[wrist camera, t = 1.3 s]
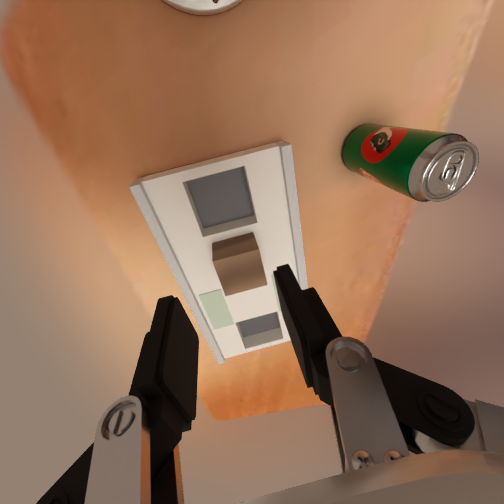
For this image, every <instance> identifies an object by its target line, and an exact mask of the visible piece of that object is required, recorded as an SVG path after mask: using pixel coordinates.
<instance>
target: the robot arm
mask: <svg viewBox="0 0 504 504" xmlns="http://www.w3.org/2000/svg"><path fill="white" fill-rule="evenodd" d="M162 1H164V2H166V3H167V4H169V5H171V6H172V7H174V8H176V9H178V10H181V11H184V12H187V13H190V14H195V15H212V14H218V13H222V12H224V11H227V10H229V9H231V8H233V7H235V6H236V5H237V4H239V3H240V2H241V1H242V0H218V3H214V2H213V1H212V0H162ZM273 275H274V279H275V284H276V289H277V293H278V298H279V303H280V308H281V312H282V316H283V319H284V322H285V325H286V328H287V330H288V333H289V336H290V339H291V342H292V345H293V348H294V350H295V353H296V356H297V359H298V362H299V365H300V368H301V370H302V373H303V376H304V379H305V382H306V385H307V387H308V388H310V387H313V389H314V392H315V395H317V394H318V395H319V398H320V400H321V401H323V402H325V403H326V404H328V405H330V409H331V414H332V420H333V425H334V430H335V435H336V441H337V446H338V452H339V458H340V463H341V468H342V474H340V475H336V476H332V477H328V478H325V479H321V480H318V481H315V482H311V483H307V484H303V485H300V486H296V487H293V488H289V489H286V490H282V491H279V492H275V493H272V494H268V495H265V496H261V497H258V498H254V499H251V500H247V501H244V502H240V503H237V504H504V407H501V406H497V405H493V404H490V403H486V402H483V401H480V400H476V399H475V400H474V402H472V401H468V400H465V399H462V397H460V396H459V395H458V394H457V393H455V392H454V391H453V390H451V389H449V388H447V387H445V386H443V385H440V384H438V383H436V382H433V381H430V380H428V379H426V378H423V377H421V376H418V375H416V374H413V373H411V372H408V371H406V370H403V369H401V368H399V367H396V366H394V365H391V364H389V363H386V362H384V361H381V360H379V359H376V358H374V357H373V356H372V354H371V352H370V350H369V349H368V347H367V346H366V345H365V344H364V343H362V342H361V341H359V340H357V339H355V338H351V337H342V335H341V333H340V331H339V330H338V328H337V326H336V324H335V323H334V321H333V319H332V318H331V316H330V314H329V312H328V311H327V309H326V307H325V305H324V304H323V302H322V300H321V299H320V297H319V295H318V293H317V292H316V290H315V289H314V288H313V287H312V288H308V289H304V290H302V289H301V287H300V285H299V283H298V281H297V279H296V277H295V275H294V274H293V272H292V270H291V268H290V266H289V264H285V265H281V266H278V267H277V270H275V271H273ZM198 351H199V339H198V335H197V333H196V331H195V329H194V327H193V325H192V323H191V321H190V319H189V318H188V316H187V314H186V312H185V310H184V308H183V306H182V304H181V302H180V301H179V299H178V298H177V297H175V298H174V297H173V296H172V295H170V296H167V297H163V298H159V299H158V302H157V306H156V310H155V314H154V317H153V321H152V325H151V329H150V332H148V333H147V334H146V335H145V338H144V341H143V345H142V348H141V352H140V356H139V360H138V363H137V367H136V370H135V374H134V378H133V381H132V385H131V389H130V392H129V396H125V397H122V398H120V399H119V400H117V401H116V402H114V403H113V404H112V405H111V406H110V407H109V408H108V409H107V410H106V411H105V413H104V414H103V415H102V417H101V419H100V421H99V423H98V426H97V430H96V436H95V441H94V443H93V444H92V445H91V446H90V447H89V448H88V449H87V450H86V451H85V452H84V453H83V454H82V455H81V456H80V457H79V459H77V461H76V462H75V463H74V464H73V465H72V466H71V467H70V468H69V469H68V470H67V471H66V472H65V473H64V474H63V475H62V476H61V477H60V478H59V480H58V481H57V482H56V483H55V484H54V485H53V486H52V487H51V488H50V489H49V490H48V491H47V492H46V493H45V495H43V496H42V498H41V499H40V500H39V501H38V502H37V503H36V504H184V494H183V485H182V474H181V464H180V456H179V445H178V443H179V441H180V440H181V438H182V432H185V431H188V430H191V422H192V420H195V417H196V400H197V375H198ZM408 450H409V451H411V452H413V453H415V454H416V455H412V456H410V453H409V451H408Z"/></svg>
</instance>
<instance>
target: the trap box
mask: <svg viewBox="0 0 504 504" xmlns="http://www.w3.org/2000/svg"><path fill="white" fill-rule="evenodd" d="M129 188H130V190H131V192H132V194H133V196H134V198H135V200H136V202H137V204H138V206H139V208H140V210H141V212H142V214H143V216H144V218H145V220H146V222H147V224H148V225H149V227H150V229H151V231H152V233H153V235H154V237H155V239H156V241H157V243H158V245H159V247H160V249H161V251H162V253H163V255H164V257H165V259H166V261H167V263H168V265H169V267H170V269H171V271H172V273H173V275H174V277H175V279H176V281H177V283H178V285H179V287H180V289H181V291H182V293H183V295H184V297H185V299H186V300H187V302H188V304H189V306H190V308H191V310H192V312H193V314H194V316H195V318H196V320H197V322H198V324H199V326H200V328H201V330H202V332H203V334H204V336H205V338H206V340H207V342H208V344H209V346H210V348H211V350H212V352H213V354H214V356H215V358H216V360H217V362H218V364H219V365H220V364H223V363H225V358H229V357H232V356H236V355H240V354H243V353H247V352H251V351H254V350H258V349H261V348H265V347H269V346H272V345H276V344H280V343H283V342H287V341H290V340H291V339H290V336H289V333H288V330H287V328H286V325H285V322H284V319H283V316H282V312H281V308H280V303H279V298H278V293H277V289H276V284H275V279H274V275H273V271H275V270H277V267H278V266H281V265H285V264H289V266H290V268H291V270H292V272H293V274H294V275H295V277H296V279H297V281H298V283H299V285H300V287H301V289H302V290H304V289H308V285H307V276H306V267H305V259H304V250H303V241H302V232H301V224H300V215H299V206H298V197H297V189H296V180H295V171H294V163H293V154H292V145H291V144H289V143H287V142H285V141H283V140H281V141H278V142H274V143H270V144H266V145H262V146H259V147H255V148H251V149H247V150H243V151H239V152H236V153H232V154H228V155H224V156H220V157H216V158H213V159H209V160H205V161H201V162H197V163H194V164H190V165H186V166H182V167H178V168H174V169H171V170H167V171H163V172H159V173H155V174H151V175H148V176H144V177H140V178H137V179H136V180H135V181H134V182H133V183H132V184H131V186H130V187H129ZM251 232H253V233H254V236H255V239H256V241H257V244H258V247H259V250H260V254H261V259H262V263H263V267H264V271H265V276H266V280H267V284H268V285H266V286H262V287H258V288H255V289H251V290H247V291H243V292H240V293H236V294H232V295H229V296H225V294H224V291H223V288H222V286H221V283H220V280H219V278H218V275H217V272H216V270H215V267H214V264H213V262H212V243H213V242H217V241H221V240H225V239H228V238H232V237H236V236H240V235H243V234H247V233H251Z"/></svg>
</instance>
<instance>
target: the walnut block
mask: <svg viewBox="0 0 504 504" xmlns="http://www.w3.org/2000/svg"><path fill="white" fill-rule="evenodd" d="M212 262H213V264H214V267H215V270H216V272H217V275H218V278H219V280H220V283H221V286H222V288H223V291H224V294H225V296H229V295H232V294H236V293H240V292H243V291H247V290H251V289H255V288H258V287H262V286H266V285H268V284H267V280H266V276H265V271H264V267H263V263H262V259H261V254H260V250H259V247H258V244H257V241H256V239H255V236H254V233H253V232H251V233H247V234H243V235H240V236H236V237H232V238H228V239H225V240H221V241H217V242H213V243H212Z"/></svg>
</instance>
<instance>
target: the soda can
mask: <svg viewBox="0 0 504 504" xmlns="http://www.w3.org/2000/svg"><path fill="white" fill-rule="evenodd" d="M343 160H344V163H345V165H346V166H347V167H348V169H350V170H351V171H354V172H356V173H358V174H360V175H362V176H364V177H367V178H369V179H371V180H373V181H375V182H377V183H380V184H382V185H384V186H386V187H388V188H391V189H393V190H395V191H397V192H399V193H401V194H404V195H406V196H408V197H410V198H412V199H414V200H417V201H420V202H428V201H435V202H439V201H444V200H447V199H449V198H451V197H453V196H455V195H456V194H458V193H459V192H460V191H461V190H462V189H464V188H465V187H466V185H467V184H468V183H469V182H470V180H471V179H472V177H473V176H474V174H475V172H476V169H477V166H478V163H479V153H478V150H477V147H476V146H475V145H474V144H472V143H471V142H468V140H467V139H466V138H465V137H463V136H462V135H459V134H454V133H446V132H437V131H429V130H420V129H411V128H403V127H394V126H386V125H377V124H366V125H363V126H360V127H359V128H357V129H356V130H355V131H353V133H352V134H351V135H350V136H349V137H348V139H347V141H346V143H345V146H344V149H343Z"/></svg>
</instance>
